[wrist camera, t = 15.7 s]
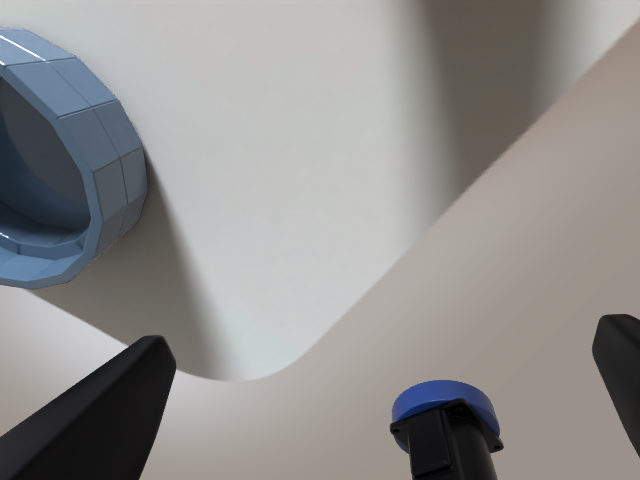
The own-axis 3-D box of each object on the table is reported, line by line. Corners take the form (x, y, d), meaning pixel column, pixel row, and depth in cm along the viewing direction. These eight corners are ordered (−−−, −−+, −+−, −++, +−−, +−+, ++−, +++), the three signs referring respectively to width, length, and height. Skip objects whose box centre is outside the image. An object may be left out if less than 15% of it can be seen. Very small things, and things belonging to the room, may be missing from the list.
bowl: (193, 172, 21) (153, 206, 17) (76, 276, 25) (24, 322, 22) (-10, -39, 17) (-124, -59, 13) (-104, 131, 21) (-209, 154, 18)
